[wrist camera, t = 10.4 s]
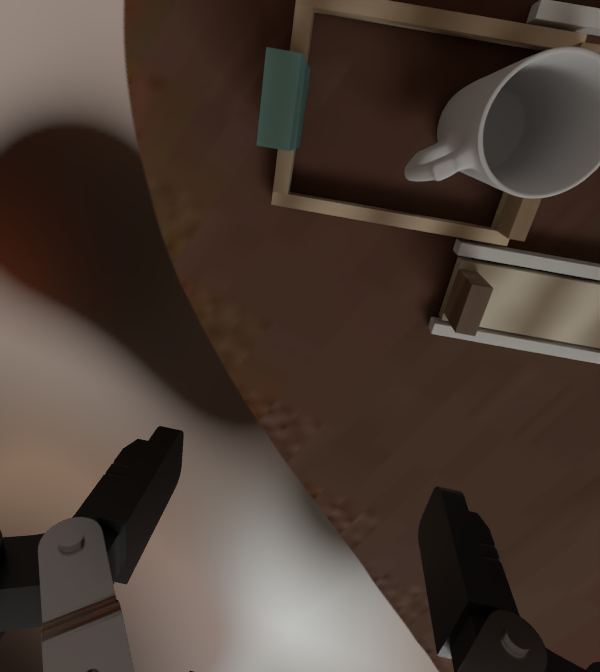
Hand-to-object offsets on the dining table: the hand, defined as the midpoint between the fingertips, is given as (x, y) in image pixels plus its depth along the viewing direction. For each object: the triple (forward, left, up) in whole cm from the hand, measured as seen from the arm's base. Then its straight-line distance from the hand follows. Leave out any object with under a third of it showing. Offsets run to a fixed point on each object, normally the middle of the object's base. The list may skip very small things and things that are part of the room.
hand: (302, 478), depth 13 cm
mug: (-8, -11, -27) cm, 30 cm away
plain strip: (-19, +1, -26) cm, 33 cm away
